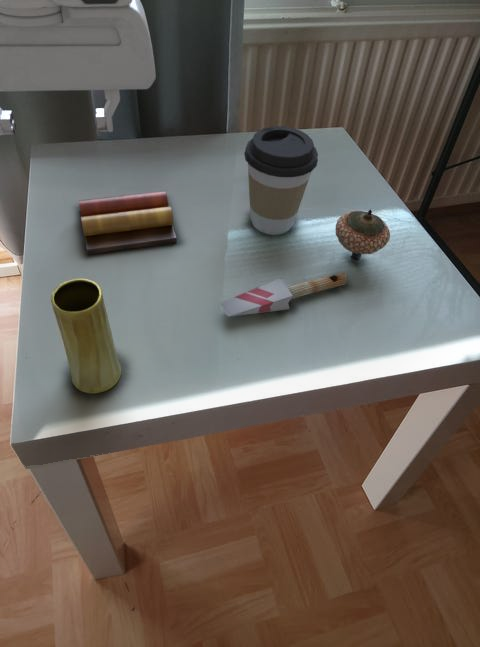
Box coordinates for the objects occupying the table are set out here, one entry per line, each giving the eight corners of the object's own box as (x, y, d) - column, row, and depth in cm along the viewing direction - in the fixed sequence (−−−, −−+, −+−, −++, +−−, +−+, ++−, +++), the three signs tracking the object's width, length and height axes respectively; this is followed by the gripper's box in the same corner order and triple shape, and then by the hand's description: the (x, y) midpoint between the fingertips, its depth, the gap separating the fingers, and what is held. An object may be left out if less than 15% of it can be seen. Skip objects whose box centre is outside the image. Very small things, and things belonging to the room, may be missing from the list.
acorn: (318, 252, 82) (330, 201, 74) (356, 237, 85) (371, 186, 78) (351, 284, 78) (367, 232, 70) (390, 266, 81) (409, 215, 73)
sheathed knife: (219, 292, 70) (339, 264, 77) (217, 306, 72) (335, 277, 79) (229, 311, 68) (353, 280, 75) (228, 325, 70) (348, 294, 77)
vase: (62, 371, 64) (35, 291, 53) (104, 347, 66) (87, 267, 56) (87, 403, 61) (64, 326, 50) (130, 376, 64) (117, 298, 53)
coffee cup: (279, 195, 92) (291, 116, 80) (318, 230, 86) (336, 150, 74) (226, 213, 87) (230, 131, 76) (263, 251, 81) (274, 169, 70)
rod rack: (87, 254, 78) (83, 234, 75) (81, 208, 85) (76, 188, 82) (176, 242, 81) (176, 222, 78) (162, 199, 89) (161, 179, 86)
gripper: (-135, -24, 36) (-61, 151, 47) (151, -18, 40) (161, 143, 50) (-112, -48, 40) (-49, 118, 51) (146, -42, 44) (156, 113, 54)
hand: (57, 130), depth 50 cm, fingers open, 8 cm apart
